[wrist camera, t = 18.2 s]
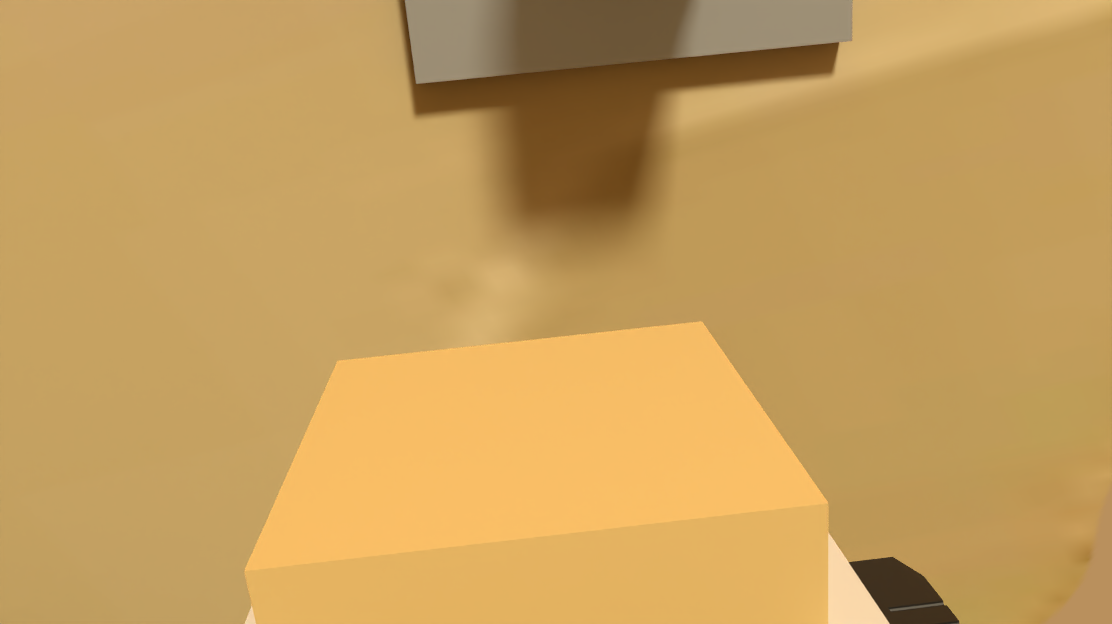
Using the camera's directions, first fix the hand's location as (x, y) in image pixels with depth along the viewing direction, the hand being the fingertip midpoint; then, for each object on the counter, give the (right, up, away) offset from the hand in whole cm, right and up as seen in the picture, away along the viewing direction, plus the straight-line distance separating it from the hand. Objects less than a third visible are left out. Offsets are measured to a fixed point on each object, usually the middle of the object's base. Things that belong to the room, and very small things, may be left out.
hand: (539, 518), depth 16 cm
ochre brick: (0, 0, 0) cm, 0 cm away
